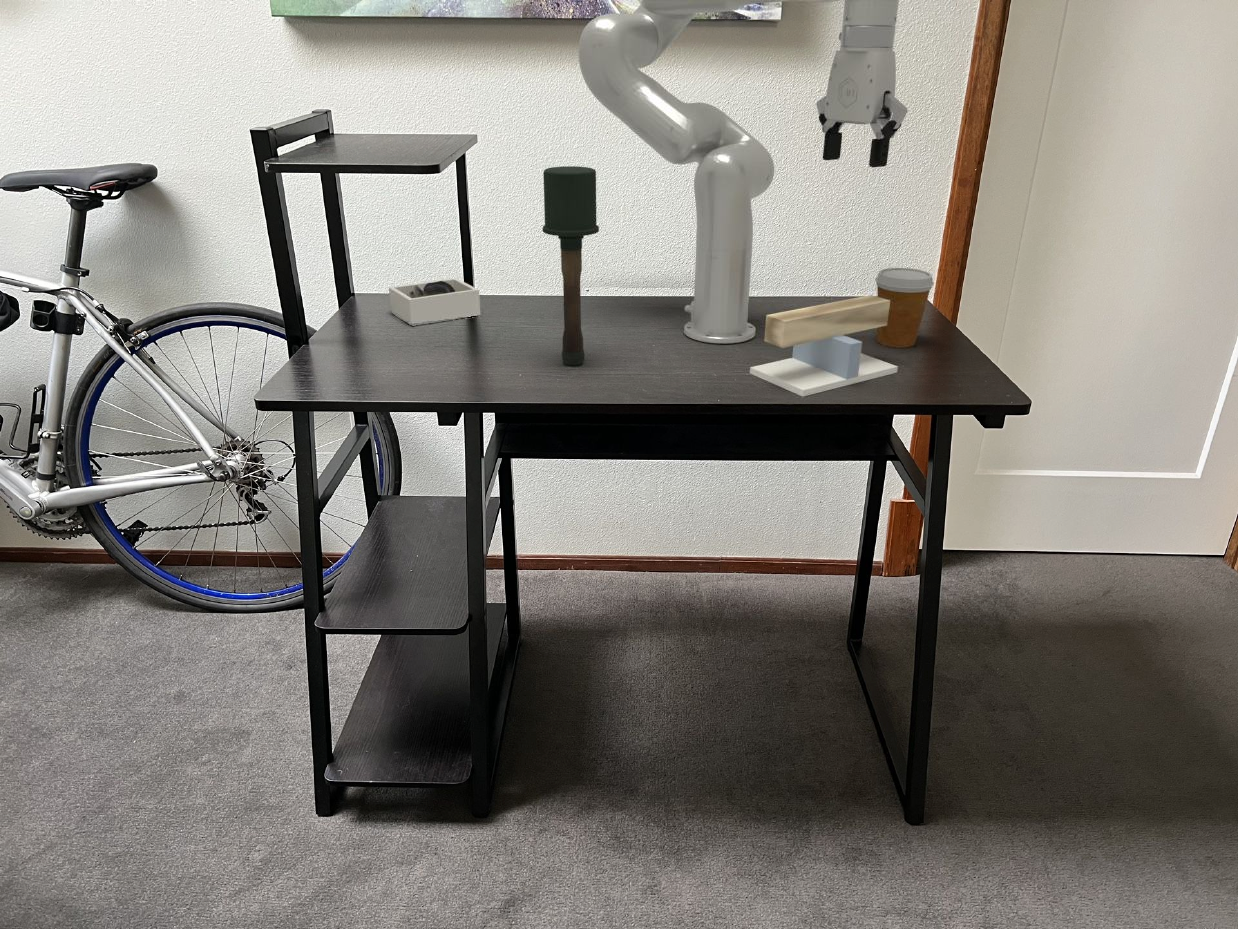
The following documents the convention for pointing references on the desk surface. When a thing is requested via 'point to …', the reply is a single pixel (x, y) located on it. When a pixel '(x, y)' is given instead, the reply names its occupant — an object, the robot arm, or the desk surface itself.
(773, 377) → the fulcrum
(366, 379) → the desk surface
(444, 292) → the eagle figurine
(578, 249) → the potato masher grenade
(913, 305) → the disposable coffee cup
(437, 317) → the beige open storage bin
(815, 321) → the rod
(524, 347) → the desk surface
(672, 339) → the desk surface
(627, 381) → the desk surface
